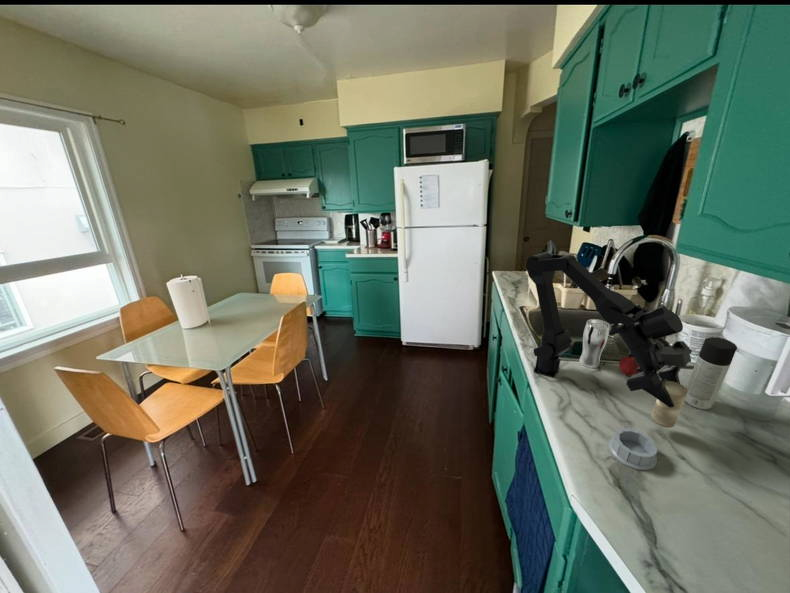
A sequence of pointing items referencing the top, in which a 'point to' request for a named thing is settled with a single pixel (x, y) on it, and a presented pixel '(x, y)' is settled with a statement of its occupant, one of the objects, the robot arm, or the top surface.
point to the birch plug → (666, 414)
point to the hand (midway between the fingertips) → (676, 402)
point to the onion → (628, 366)
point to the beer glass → (594, 342)
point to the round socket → (633, 449)
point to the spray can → (709, 372)
